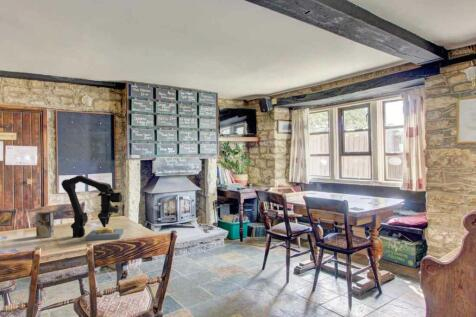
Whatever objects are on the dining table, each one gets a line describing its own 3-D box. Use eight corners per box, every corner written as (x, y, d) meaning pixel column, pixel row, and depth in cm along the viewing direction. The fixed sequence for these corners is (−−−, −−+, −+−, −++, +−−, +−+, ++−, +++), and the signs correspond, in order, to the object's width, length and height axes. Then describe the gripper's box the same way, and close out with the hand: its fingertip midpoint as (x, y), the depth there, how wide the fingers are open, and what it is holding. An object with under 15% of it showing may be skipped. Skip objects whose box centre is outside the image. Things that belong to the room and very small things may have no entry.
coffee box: (54, 234, 219) (54, 211, 218) (51, 237, 212) (50, 213, 212) (39, 235, 217) (39, 212, 217) (35, 237, 211) (35, 213, 210)
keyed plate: (86, 240, 204) (86, 235, 204) (92, 234, 220) (92, 230, 219) (119, 238, 208) (119, 234, 208) (123, 232, 223) (123, 228, 223)
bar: (97, 236, 211) (97, 229, 211) (99, 234, 215) (99, 228, 215) (111, 235, 212) (111, 229, 212) (113, 233, 216) (113, 228, 216)
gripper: (115, 204, 206) (116, 228, 206) (120, 200, 224) (120, 222, 224) (97, 204, 204) (97, 229, 204) (103, 200, 222) (104, 223, 222)
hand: (105, 225), depth 214 cm, fingers open, 9 cm apart
